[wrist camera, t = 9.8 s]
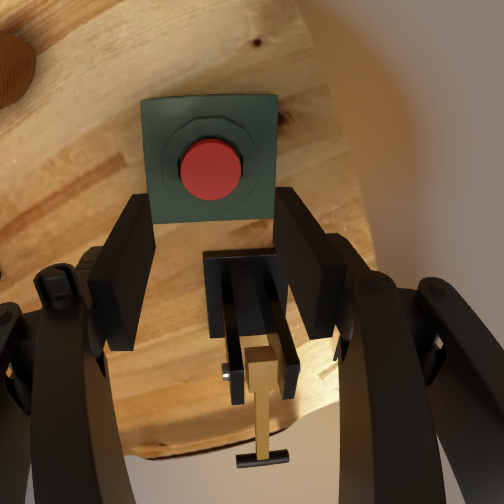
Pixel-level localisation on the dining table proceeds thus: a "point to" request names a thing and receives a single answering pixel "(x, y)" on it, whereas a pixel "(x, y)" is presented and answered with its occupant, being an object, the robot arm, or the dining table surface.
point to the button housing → (202, 127)
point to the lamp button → (210, 169)
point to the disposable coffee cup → (15, 68)
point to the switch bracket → (250, 312)
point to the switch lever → (261, 405)
